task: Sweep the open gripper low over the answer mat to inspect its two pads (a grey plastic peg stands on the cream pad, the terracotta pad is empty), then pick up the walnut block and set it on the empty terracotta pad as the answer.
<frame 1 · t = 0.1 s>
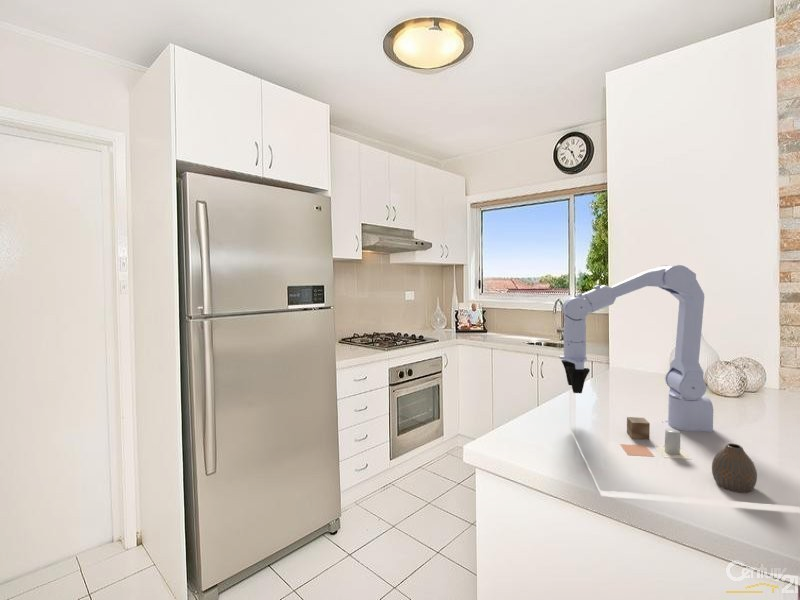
hand: (574, 388, 117), 10 cm above the countertop, fingers open, 7 cm apart
walnut block: (637, 439, 106), on the countertop
grey peg: (672, 452, 97), point 1 cm above the countertop, touching mat
vase: (733, 490, 82), on the countertop
mat: (653, 454, 98), on the countertop
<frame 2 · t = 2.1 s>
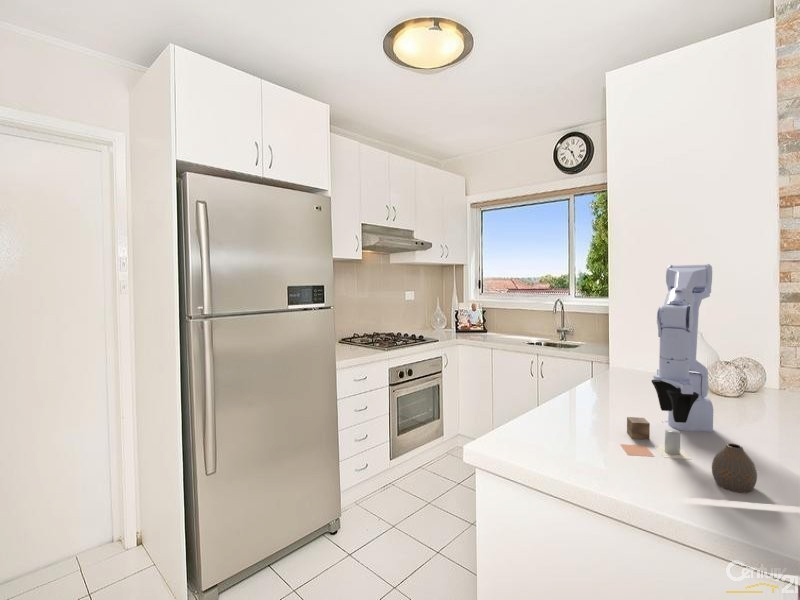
hand: (673, 416, 96), 9 cm above the countertop, fingers open, 7 cm apart
nothing on the countertop moved.
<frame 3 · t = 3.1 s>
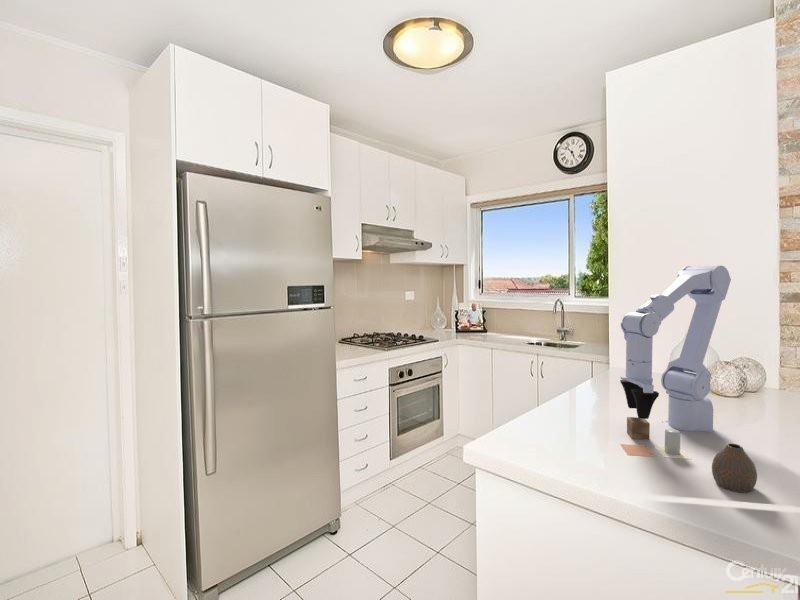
hand: (638, 412, 106), 7 cm above the countertop, fingers open, 7 cm apart
nothing on the countertop moved.
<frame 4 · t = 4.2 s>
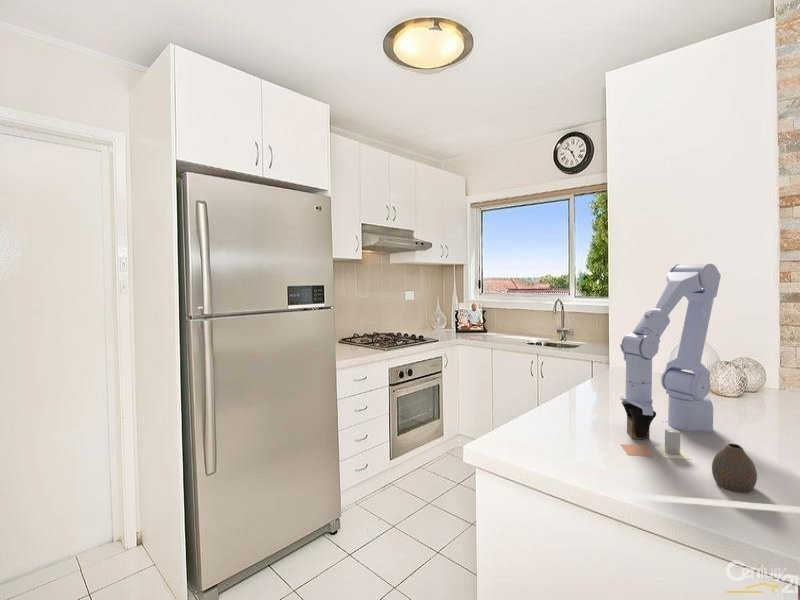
hand: (637, 433, 106), 1 cm above the countertop, fingers closed on walnut block, 4 cm apart
walnut block: (637, 439, 106), on the countertop, touching gripper
everything else where it was.
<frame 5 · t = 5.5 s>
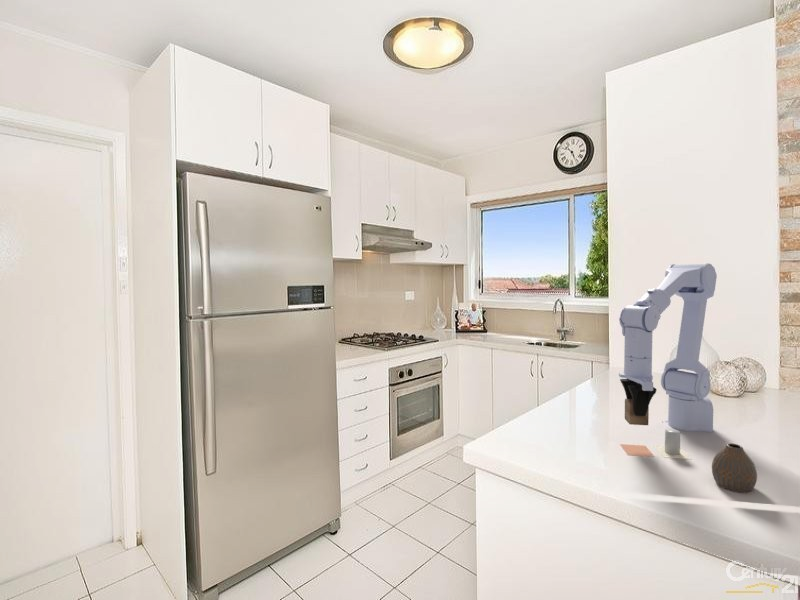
hand: (637, 412, 100), 9 cm above the countertop, fingers closed on walnut block, 4 cm apart
walnut block: (636, 421, 100), point 7 cm above the countertop, touching gripper
everything else where it was.
when the fingers open (4 cm above the countertop, at t = 7.1 s): walnut block stays where it is, resting on mat.
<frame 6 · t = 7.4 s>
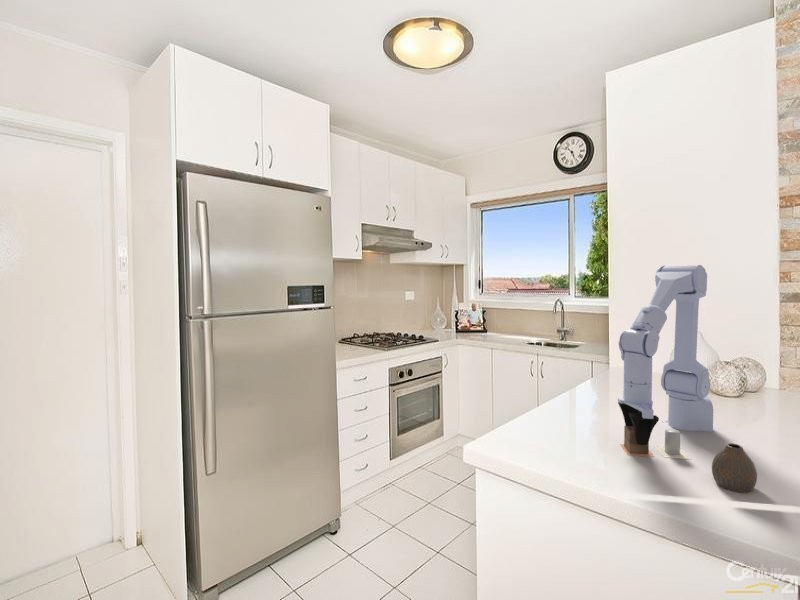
hand: (636, 438, 98), 4 cm above the countertop, fingers open, 6 cm apart
walnut block: (636, 450, 98), point 1 cm above the countertop, touching mat
everything else where it was.
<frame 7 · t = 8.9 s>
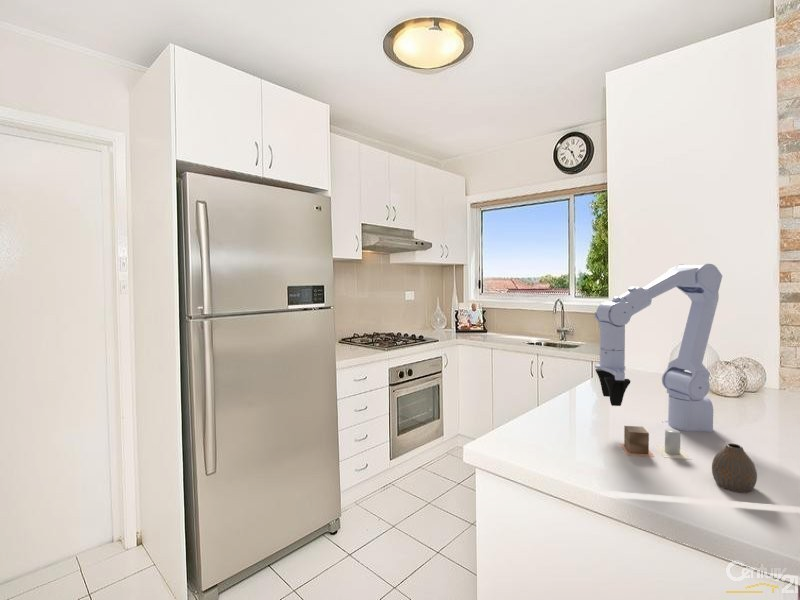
hand: (611, 400, 108), 9 cm above the countertop, fingers open, 7 cm apart
nothing on the countertop moved.
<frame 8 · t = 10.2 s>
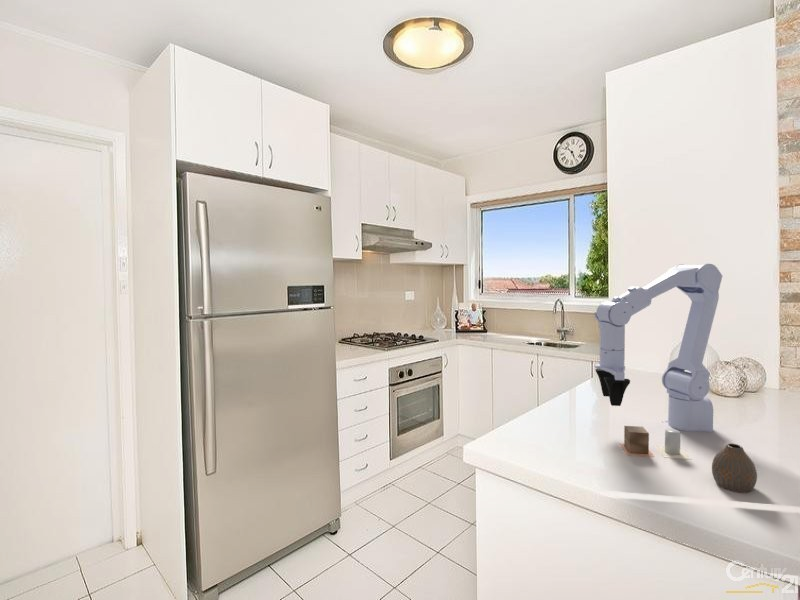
hand: (611, 400, 108), 9 cm above the countertop, fingers open, 7 cm apart
nothing on the countertop moved.
at the end: walnut block 0.1 cm from the target spot on the mat, point 0.8 cm above the mat's base; walnut block tilted 0°; grey peg moved 0.0 cm from its start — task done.
